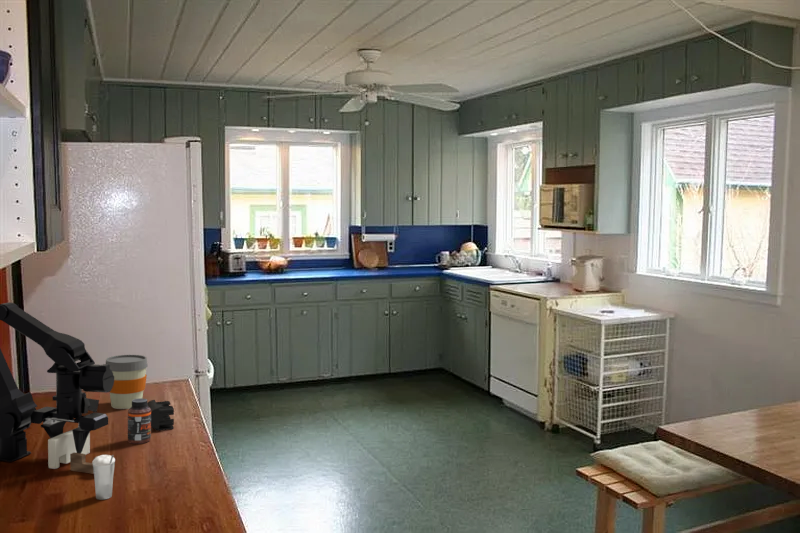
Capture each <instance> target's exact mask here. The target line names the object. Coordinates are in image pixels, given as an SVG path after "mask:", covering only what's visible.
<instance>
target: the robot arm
mask: <svg viewBox="0 0 800 533" xmlns="http://www.w3.org/2000/svg"><path fill="white" fill-rule="evenodd" d="M0 321H2V322H4V323H5V324H7V325H8V326H10V327H11V328H13V329H15V330H16V331H17V332H19V333H20V334H22V335H24V336H25V337H27V339H30V340H31V341H33V342H34V343H36V344H37V345H39V346H40V347H41V348H42V349H43V351H44V353H45V355H46V356H47V357H48V358H49V359H50V360H51V361H53V365H52V366H50V367H49V368H48V369H47V370H46V372H47V373H48V374H55V384H56V387H55V388H56V390H55V393H56V395H53V396H52V401H55V402H56V407H53V406H43V407H41V408H38V409H37V407H38V405H37V404H36V402H35V401H34V398H33V394H32V393H31V392H30V391H29V392H27V393H24V392H23V391H22V390H20V389H19V387H18V385H17V382H16V381H15V380H16V379H14V376H13V374H12V371H11V369H10V367H9V364H8V362H7V361H6V358H5V355H4V353H3V351H2V349H1V348H0V461H1V462H2V461H3V462H8V463H11V462H14V461H17V460H19V459H22V458H24V457H27V456H28V455H30V454H32V452H31V451H29V450H28V439H27V436H26V435H27V434H26V433H27V432H26V431H24V430H27V429H30V427H31V424H36V425H37V424H38V425H40V428H42V429H44V431H45V432H46V434H47V435H48V437H49V439H51V438H53V437H55V436H58V435H60V434H63V433H64V427H65V425H66V423H73V424H74V423H75V424H78V426H77V427H76V429H75V428H72V429H71V430H72V431H73V437H74V442H75V448H76V451H77V453H81V452H82V450H83V447H84V444H85V442H86V439H87V437H88V435H89V433H90V434H91V431H93V432H94V431H96V430H98V429H101V428H103V427H106V426H107V425H109V416H108V415H107V414H106V413H101V412H98V409H99V407H98V406H99V403H100V400H99V399H95V398H94V399H93V398H88V397H87V394H86V392H87V393H88V392H90V393H106V394H107V393H110V391H111V389H112V387H113V385H114V376H113V372H112V370H110V365H109V364H106V363H103V364H95V361H94V359H93V358H92V356H91V354H89V352H88V351H87V350H86V347H85V345H86V344H85V343H84V342H83V341H82V340H81V339H80V338H77V337H75V336H73V335H70V334H66V333H63V332H59V331H56V330H55V329H53V328H51V327H50V326H48V325H46V324H45V323H43V322H42V321H41V320H39V319H38V318H36V317H34V316H33V315H31V314H30V313H28V312H26V311H25V310H23V309H22V308H20V307H19V306H18V305H17V304H16V303H14V302H5V303H4V302H3V303H0ZM83 391H84V392H83ZM89 411H91V413H89ZM88 413H89V414H88ZM83 414H84V415H83ZM85 414H86V415H85Z"/></svg>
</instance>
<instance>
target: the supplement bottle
mask: <svg viewBox="0 0 800 533" xmlns="http://www.w3.org/2000/svg"><path fill="white" fill-rule="evenodd" d="M147 404H148V399H147V398H143V397H142V398H140V399H134V400H132V407H131V408H130V409H127V442H128V443H130V444H133V445H134V444H135V445H140V444H145V443H147V442H150V441H151V439H152V438H151V437H152V427H151V409H150V407H148V405H147Z"/></svg>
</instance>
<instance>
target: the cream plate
mask: <svg viewBox="0 0 800 533" xmlns="http://www.w3.org/2000/svg"><path fill="white" fill-rule="evenodd" d="M76 428H77V427H76ZM76 428H74V429H76ZM72 430H73V429H69V431H66V432H63V434H60V435H58V436H55V437H53V438H49V439H48V440H47V453H48V456H47V457H48V458H47V460H48V462H47V464H48V466H47V467H48V469H53V470H56V469H58V468H60V463H61V464H69V463H70V454H72V453H77V451H76V448H75V442H74V437H73V431H72ZM90 453H91V432H90V433H89V435H88V437H87V439H86V442H85V444H84V447H83V450H82V452H81V454H85V456H86V455H88V454H90Z"/></svg>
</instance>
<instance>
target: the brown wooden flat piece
mask: <svg viewBox="0 0 800 533" xmlns="http://www.w3.org/2000/svg"><path fill="white" fill-rule="evenodd" d="M98 456H99V455H95V456H94V458H93V460H94V459H95V458H96V457H98ZM69 463H70V467H69V468H70V471H72V472H80V473H87V474H92V475H94V472H93V463H92V462H86V455H85V454H81V453H72V454H70V462H69Z"/></svg>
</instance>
